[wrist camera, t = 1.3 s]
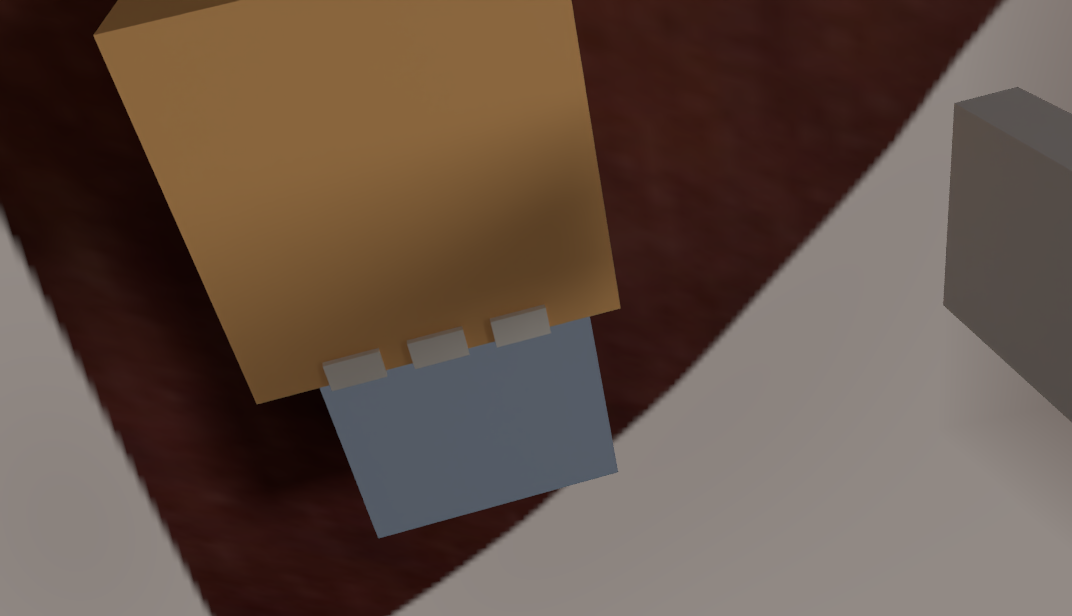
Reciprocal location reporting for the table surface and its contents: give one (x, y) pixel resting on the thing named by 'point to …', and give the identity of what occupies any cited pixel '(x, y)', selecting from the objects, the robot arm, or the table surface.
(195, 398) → the table surface
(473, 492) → the grey connector module
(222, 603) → the table surface
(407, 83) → the orange connector module
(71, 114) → the table surface
